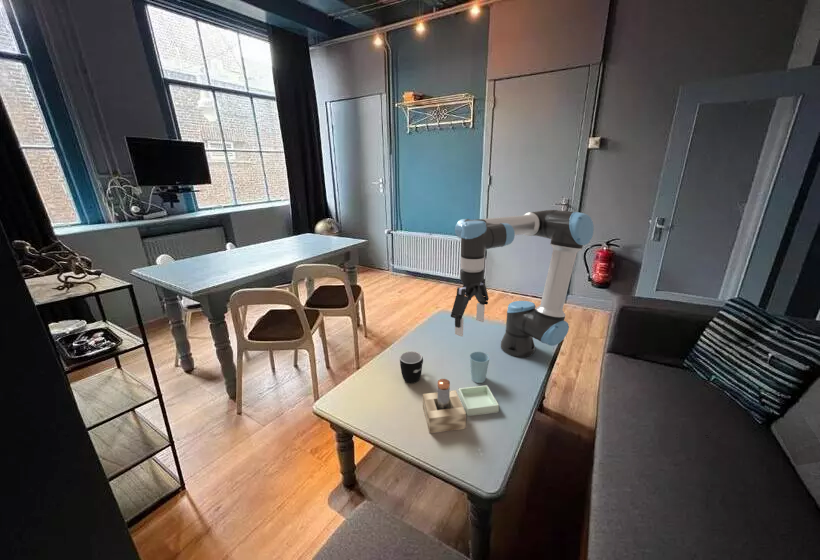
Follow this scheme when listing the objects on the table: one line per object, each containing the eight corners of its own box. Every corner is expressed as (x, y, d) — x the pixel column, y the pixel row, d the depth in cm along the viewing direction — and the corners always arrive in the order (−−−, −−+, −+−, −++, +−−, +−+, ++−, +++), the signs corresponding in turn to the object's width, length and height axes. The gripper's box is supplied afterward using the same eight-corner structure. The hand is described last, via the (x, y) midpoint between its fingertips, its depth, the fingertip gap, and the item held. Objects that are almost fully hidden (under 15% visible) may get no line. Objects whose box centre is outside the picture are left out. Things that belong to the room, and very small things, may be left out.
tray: (486, 391, 124) (487, 385, 123) (498, 412, 114) (498, 405, 113) (458, 395, 123) (458, 388, 122) (467, 416, 112) (467, 408, 111)
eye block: (455, 404, 118) (455, 390, 116) (465, 428, 107) (465, 413, 105) (422, 407, 117) (422, 393, 115) (429, 433, 105) (429, 418, 103)
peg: (447, 413, 114) (448, 378, 109) (450, 421, 110) (451, 385, 105) (436, 414, 113) (436, 379, 109) (438, 422, 110) (439, 387, 105)
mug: (413, 388, 127) (413, 366, 124) (396, 380, 132) (395, 358, 129) (431, 373, 136) (431, 352, 133) (414, 366, 141) (413, 345, 138)
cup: (467, 373, 135) (468, 351, 132) (485, 373, 135) (487, 351, 132) (470, 385, 128) (471, 362, 125) (489, 384, 128) (491, 361, 125)
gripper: (481, 259, 117) (478, 312, 124) (439, 276, 100) (439, 338, 106) (500, 262, 112) (497, 318, 119) (460, 281, 95) (458, 345, 102)
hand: (469, 327), depth 113 cm, fingers open, 13 cm apart
